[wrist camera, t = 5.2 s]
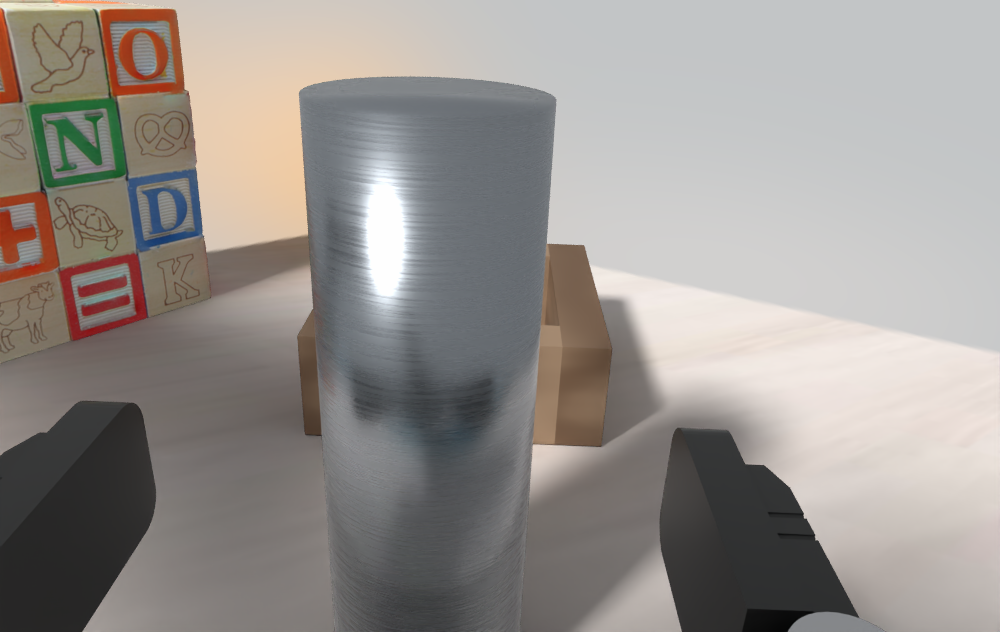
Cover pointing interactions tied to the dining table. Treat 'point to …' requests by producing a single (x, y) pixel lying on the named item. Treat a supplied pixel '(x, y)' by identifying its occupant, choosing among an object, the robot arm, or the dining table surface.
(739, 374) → the dining table surface
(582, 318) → the wooden square frame
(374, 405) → the brushed steel post
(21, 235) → the stack of blocks
